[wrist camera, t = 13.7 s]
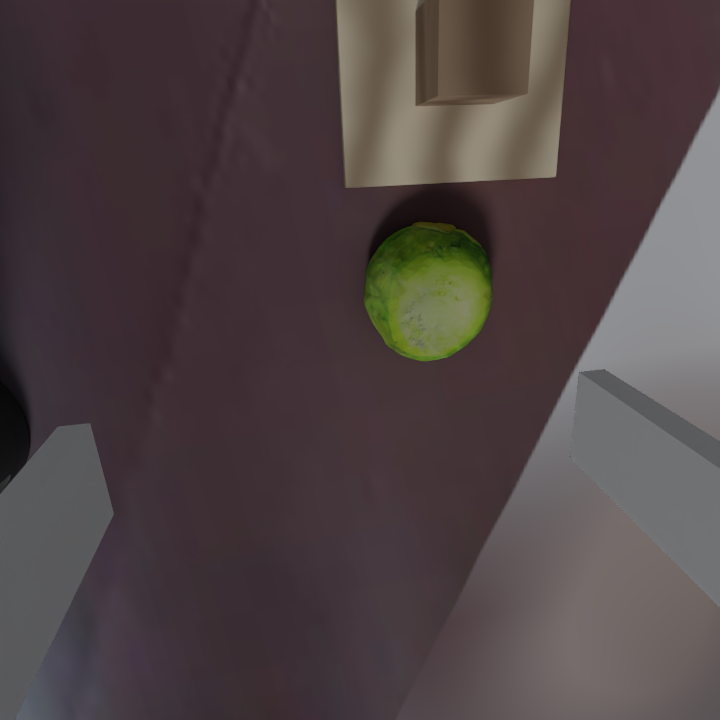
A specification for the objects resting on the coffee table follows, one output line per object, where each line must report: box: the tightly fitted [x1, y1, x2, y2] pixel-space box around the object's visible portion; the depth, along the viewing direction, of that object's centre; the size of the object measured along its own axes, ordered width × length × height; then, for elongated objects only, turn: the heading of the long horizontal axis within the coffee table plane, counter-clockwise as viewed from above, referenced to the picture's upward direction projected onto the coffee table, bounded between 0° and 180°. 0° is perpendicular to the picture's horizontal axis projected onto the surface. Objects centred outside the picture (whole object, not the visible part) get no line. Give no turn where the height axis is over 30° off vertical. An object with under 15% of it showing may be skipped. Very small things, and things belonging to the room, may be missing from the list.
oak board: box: [335, 0, 571, 188], centre depth 38 cm, size 17×17×1 cm
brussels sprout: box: [364, 222, 492, 361], centre depth 43 cm, size 12×11×5 cm
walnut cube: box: [415, 0, 534, 106], centre depth 35 cm, size 6×6×6 cm
